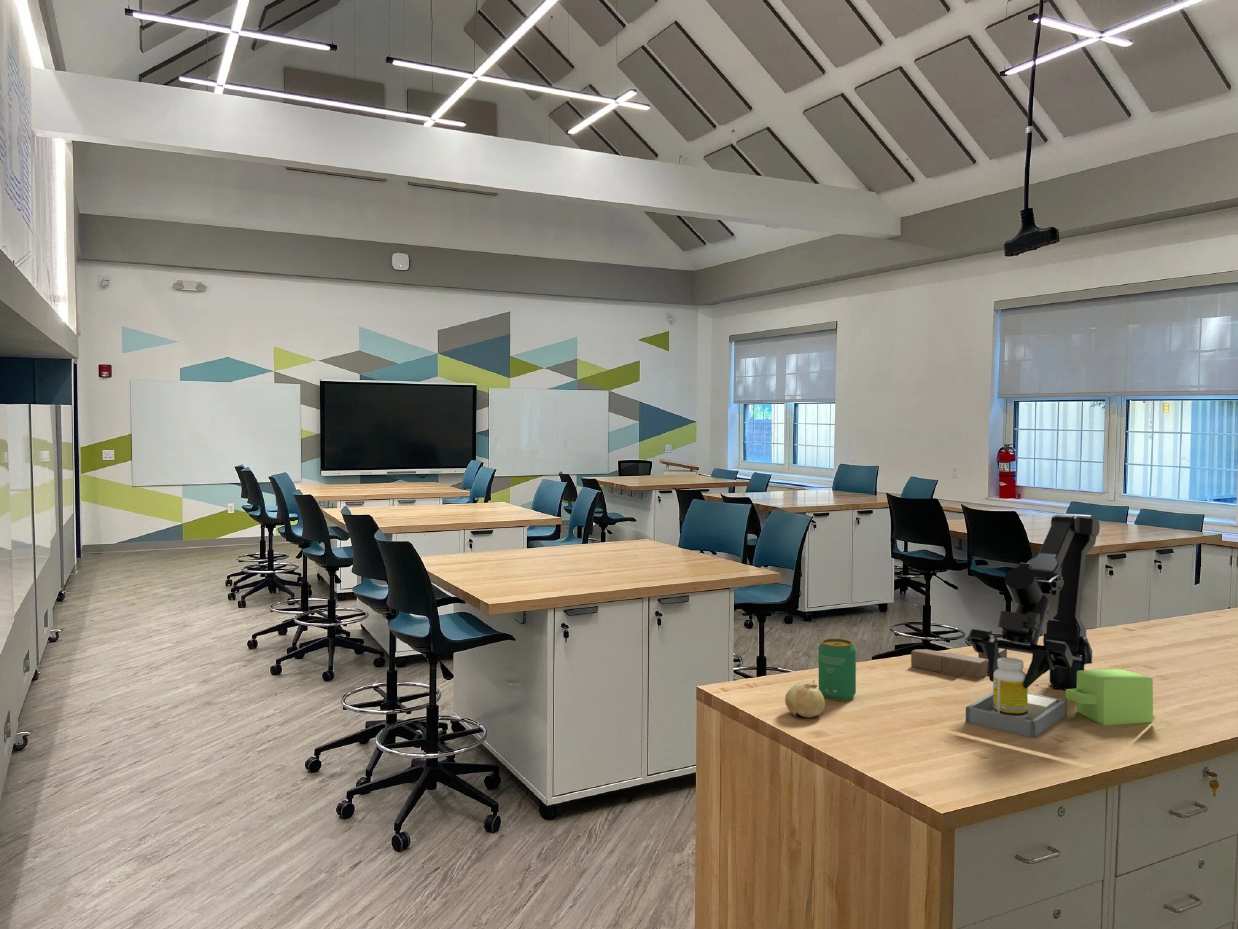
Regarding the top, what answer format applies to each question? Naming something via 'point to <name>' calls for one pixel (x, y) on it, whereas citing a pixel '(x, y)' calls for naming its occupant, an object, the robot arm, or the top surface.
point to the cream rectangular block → (1038, 705)
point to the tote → (986, 716)
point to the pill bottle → (1010, 688)
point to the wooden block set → (952, 662)
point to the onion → (805, 700)
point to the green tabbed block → (1113, 696)
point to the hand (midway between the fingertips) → (1007, 683)
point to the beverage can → (837, 669)
